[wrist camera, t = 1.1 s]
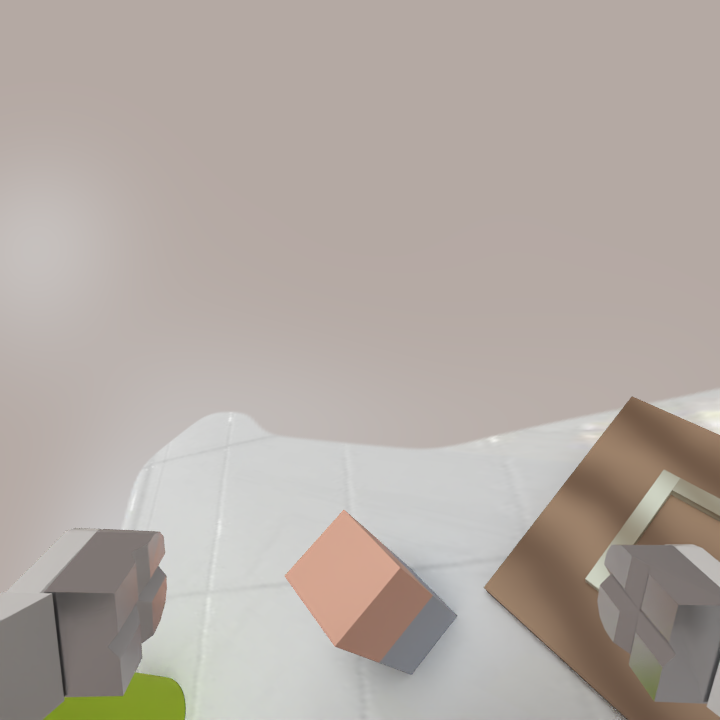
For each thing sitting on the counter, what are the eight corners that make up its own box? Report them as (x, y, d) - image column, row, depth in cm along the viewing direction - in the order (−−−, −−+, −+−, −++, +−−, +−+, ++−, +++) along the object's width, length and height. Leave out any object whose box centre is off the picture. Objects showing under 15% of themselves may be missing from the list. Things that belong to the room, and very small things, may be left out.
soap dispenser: (205, 723, 34) (-82, 705, 20) (129, 796, 33) (-228, 830, 19) (184, 650, 38) (-67, 593, 24) (115, 713, 37) (-187, 691, 23)
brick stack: (409, 567, 35) (343, 509, 27) (457, 615, 32) (400, 567, 23) (366, 618, 34) (284, 575, 26) (411, 674, 31) (334, 646, 22)
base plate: (631, 404, 36) (632, 390, 34) (988, 566, 24) (1012, 555, 22) (487, 591, 32) (481, 584, 31) (825, 899, 20) (841, 911, 18)
